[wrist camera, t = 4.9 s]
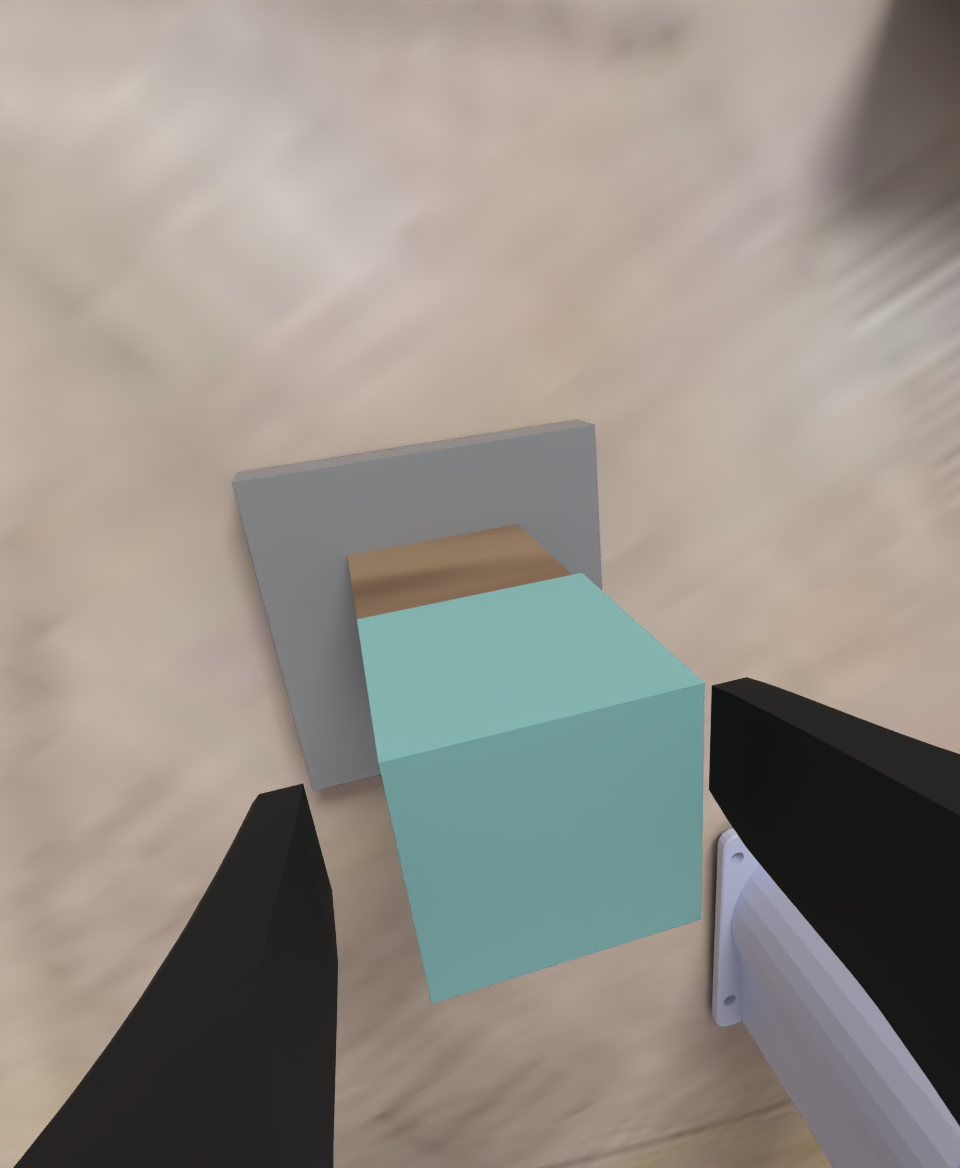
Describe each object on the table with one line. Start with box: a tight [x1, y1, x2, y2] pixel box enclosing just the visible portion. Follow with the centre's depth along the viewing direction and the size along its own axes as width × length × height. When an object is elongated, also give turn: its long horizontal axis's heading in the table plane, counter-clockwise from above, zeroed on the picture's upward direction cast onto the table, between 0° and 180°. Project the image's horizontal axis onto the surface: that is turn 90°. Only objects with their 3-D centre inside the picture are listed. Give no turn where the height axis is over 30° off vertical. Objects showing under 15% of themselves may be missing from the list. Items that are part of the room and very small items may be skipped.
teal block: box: [357, 573, 705, 1003], centre depth 10 cm, size 4×4×4 cm
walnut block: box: [347, 524, 572, 619], centre depth 14 cm, size 4×4×4 cm
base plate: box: [232, 420, 602, 791], centre depth 16 cm, size 8×8×1 cm
